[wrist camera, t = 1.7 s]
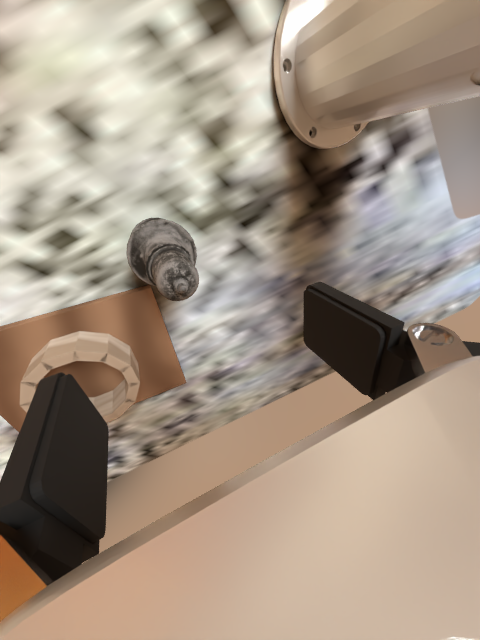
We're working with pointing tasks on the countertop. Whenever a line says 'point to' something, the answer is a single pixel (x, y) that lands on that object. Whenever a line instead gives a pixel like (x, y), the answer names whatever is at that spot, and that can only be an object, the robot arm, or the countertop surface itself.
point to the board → (90, 373)
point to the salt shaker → (164, 257)
